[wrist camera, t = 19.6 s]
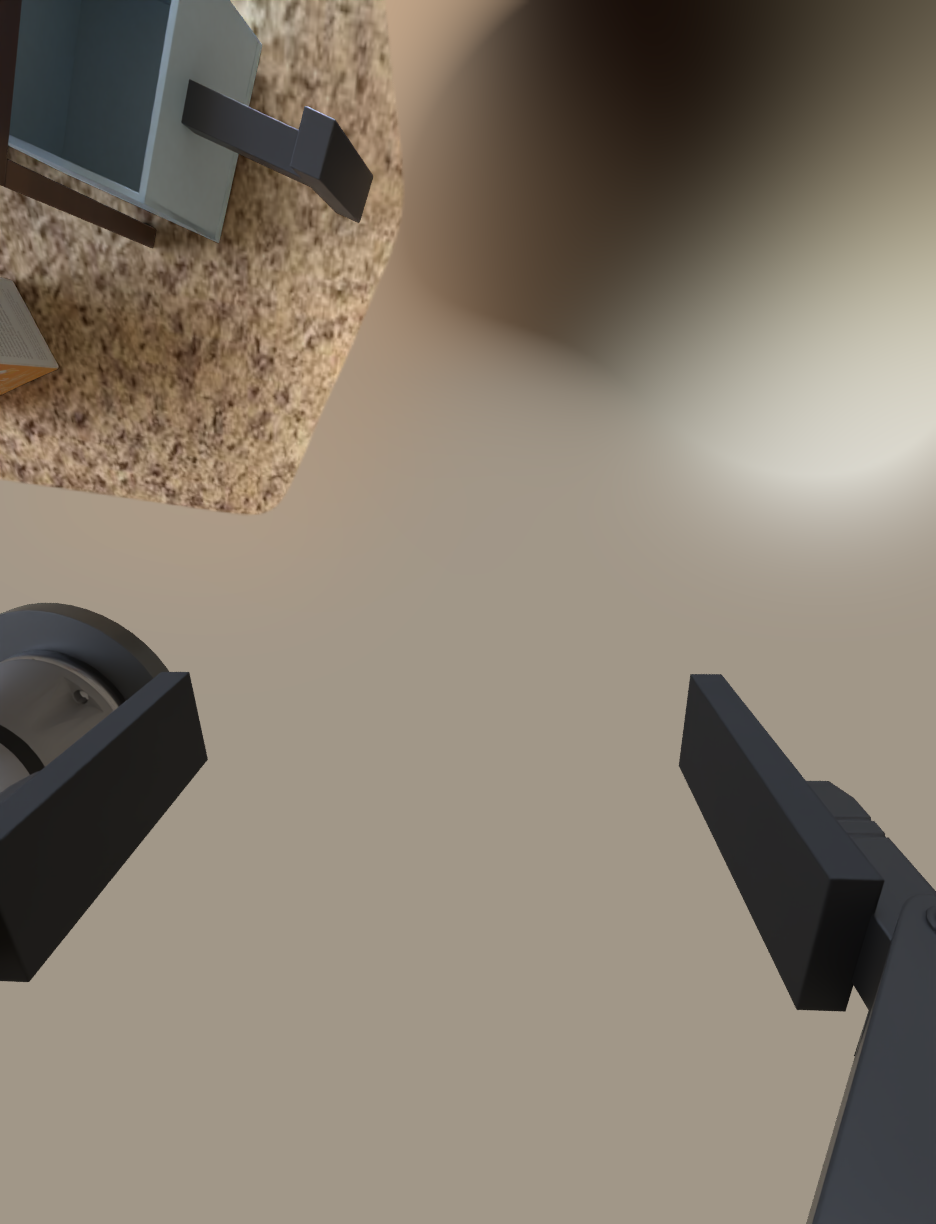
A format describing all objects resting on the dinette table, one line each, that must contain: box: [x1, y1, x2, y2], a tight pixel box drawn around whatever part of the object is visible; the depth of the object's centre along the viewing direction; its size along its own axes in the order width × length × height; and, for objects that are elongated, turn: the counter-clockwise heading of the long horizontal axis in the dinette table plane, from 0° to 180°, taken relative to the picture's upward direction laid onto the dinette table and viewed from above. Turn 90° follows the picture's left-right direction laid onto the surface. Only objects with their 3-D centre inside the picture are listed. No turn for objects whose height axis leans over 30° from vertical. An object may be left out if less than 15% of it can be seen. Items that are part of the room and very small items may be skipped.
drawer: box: [8, 0, 373, 243], centre depth 32 cm, size 20×11×10 cm, turn 67°
